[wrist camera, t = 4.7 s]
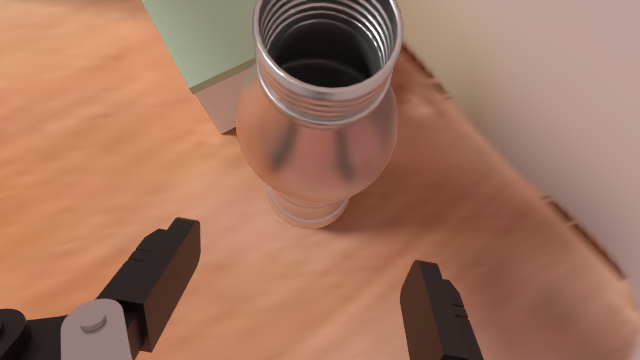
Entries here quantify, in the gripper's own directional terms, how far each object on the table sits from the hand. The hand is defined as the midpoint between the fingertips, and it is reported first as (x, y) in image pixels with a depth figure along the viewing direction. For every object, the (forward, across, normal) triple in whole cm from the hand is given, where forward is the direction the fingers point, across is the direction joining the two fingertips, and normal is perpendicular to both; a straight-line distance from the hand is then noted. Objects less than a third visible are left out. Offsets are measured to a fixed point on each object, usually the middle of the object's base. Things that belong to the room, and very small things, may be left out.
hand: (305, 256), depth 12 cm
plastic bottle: (+14, 0, -6) cm, 15 cm away
